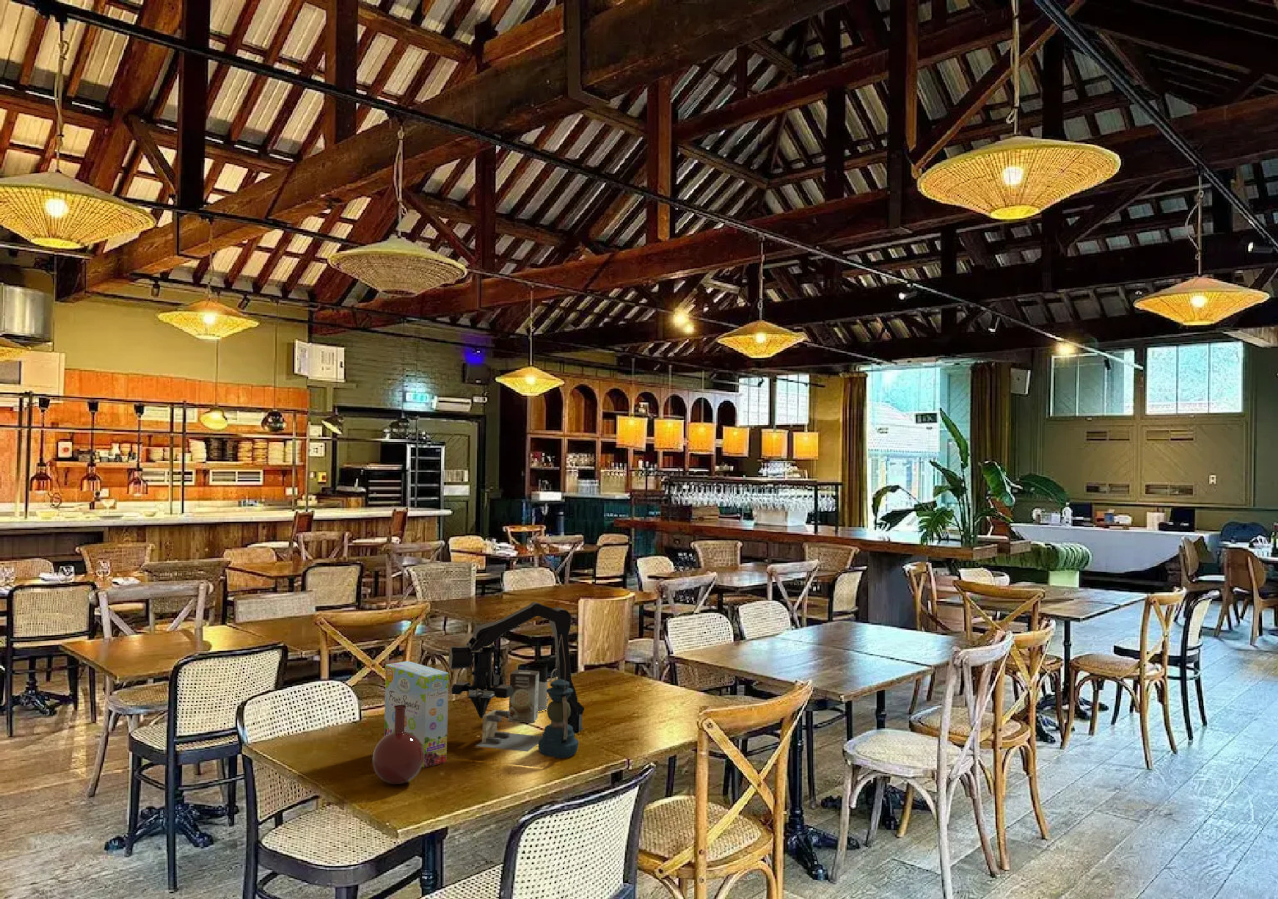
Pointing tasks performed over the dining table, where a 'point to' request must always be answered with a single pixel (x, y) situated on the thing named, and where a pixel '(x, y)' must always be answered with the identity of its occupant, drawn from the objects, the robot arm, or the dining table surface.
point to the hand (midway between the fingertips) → (481, 717)
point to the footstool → (493, 727)
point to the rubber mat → (514, 742)
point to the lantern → (558, 721)
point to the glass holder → (541, 684)
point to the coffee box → (524, 695)
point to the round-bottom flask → (398, 753)
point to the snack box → (419, 706)
